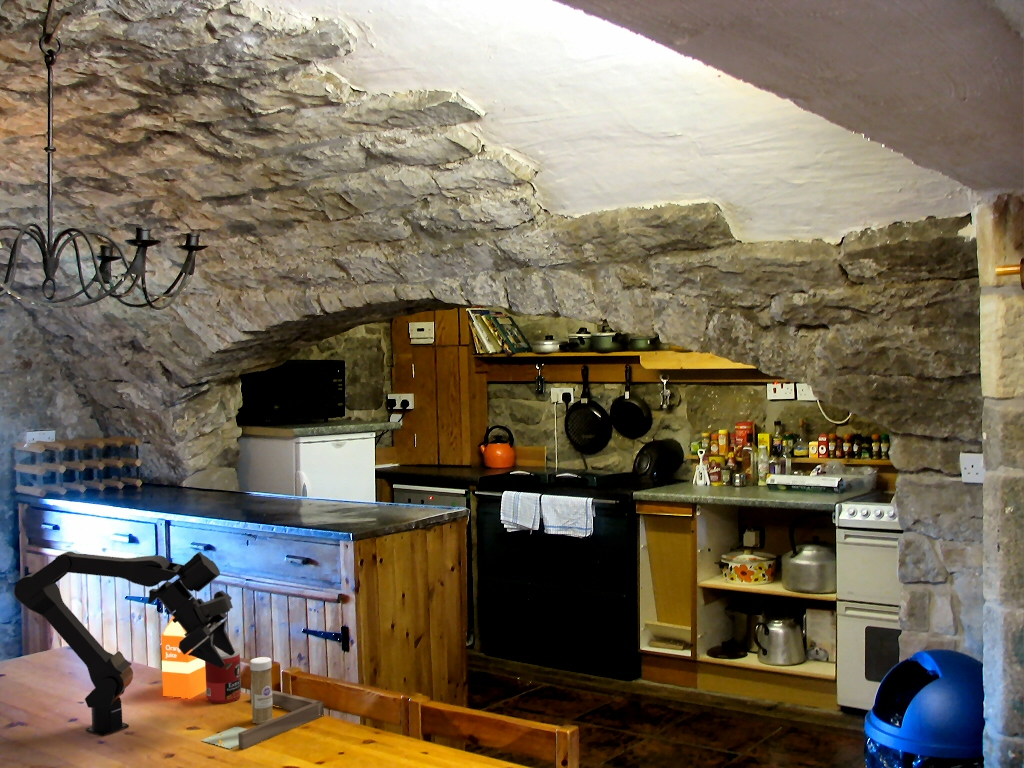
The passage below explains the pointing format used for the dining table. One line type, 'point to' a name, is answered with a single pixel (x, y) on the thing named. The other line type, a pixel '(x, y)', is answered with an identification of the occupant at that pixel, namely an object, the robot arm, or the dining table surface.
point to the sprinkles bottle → (261, 689)
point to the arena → (272, 722)
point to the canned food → (224, 679)
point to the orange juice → (180, 666)
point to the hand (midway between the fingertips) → (228, 660)
